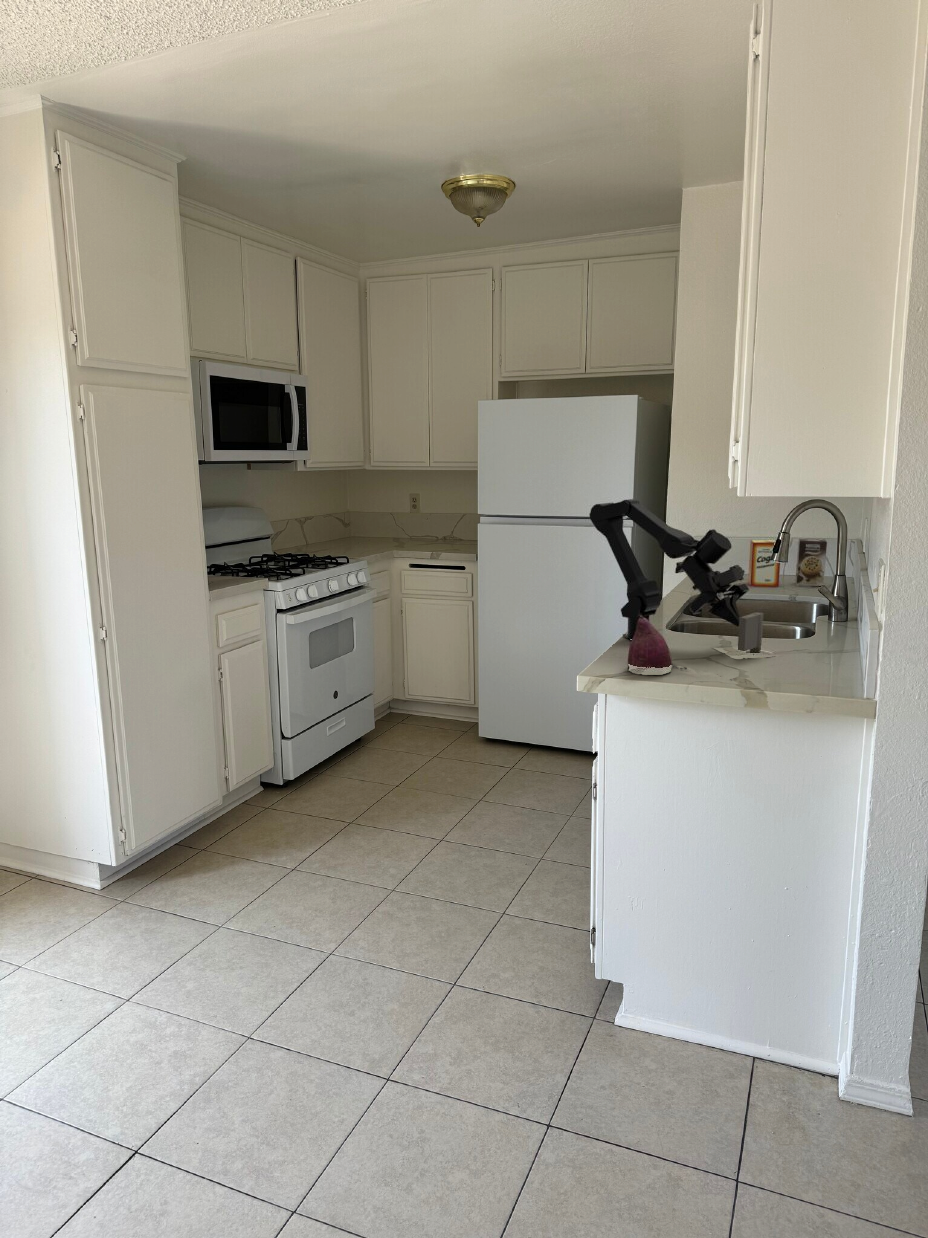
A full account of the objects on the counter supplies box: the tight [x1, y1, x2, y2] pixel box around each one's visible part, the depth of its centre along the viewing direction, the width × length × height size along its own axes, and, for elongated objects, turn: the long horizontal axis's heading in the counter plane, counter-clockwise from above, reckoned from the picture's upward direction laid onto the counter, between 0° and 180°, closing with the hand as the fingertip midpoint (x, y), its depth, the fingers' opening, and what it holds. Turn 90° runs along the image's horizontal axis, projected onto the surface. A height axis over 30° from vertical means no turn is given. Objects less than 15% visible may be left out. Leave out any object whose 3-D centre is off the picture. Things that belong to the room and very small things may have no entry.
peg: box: [737, 612, 773, 655], centre depth 208 cm, size 6×8×10 cm
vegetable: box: [627, 615, 673, 668], centre depth 201 cm, size 10×10×15 cm
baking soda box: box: [747, 539, 781, 588], centre depth 306 cm, size 10×6×16 cm
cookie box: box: [794, 538, 828, 587], centre depth 304 cm, size 9×6×16 cm
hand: (740, 625), depth 210 cm, fingers closed
